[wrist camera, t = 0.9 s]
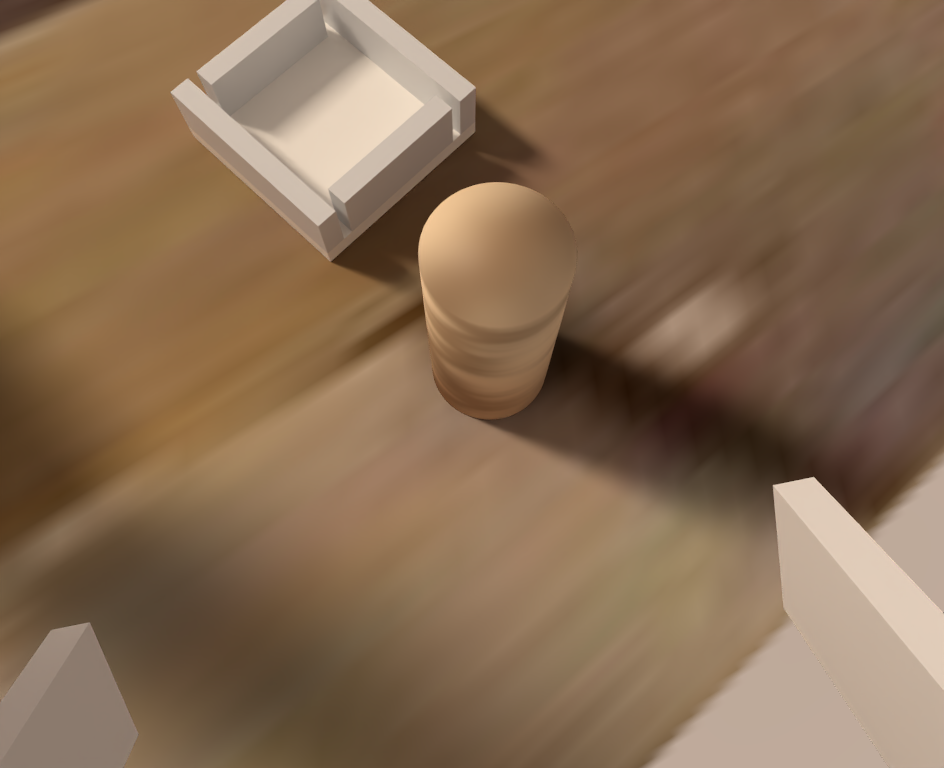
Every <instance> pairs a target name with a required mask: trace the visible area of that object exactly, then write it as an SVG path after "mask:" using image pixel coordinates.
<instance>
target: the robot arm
mask: <svg viewBox="0 0 944 768" xmlns="http://www.w3.org/2000/svg"><path fill="white" fill-rule="evenodd" d="M773 493H774V504H775V515H776V527H777V538H778V549H779V561H780V572H781V583H782V595H783V606H784V609H785V611H786V612H787V614H788V615H789V617H790V619H791V620H792V622H793V623H794V625H795V626H796V628H797V629H798V631H799V632H800V634H801V635H802V637H803V638H804V640H805V641H806V643H807V644H808V646H809V647H810V649H811V650H812V652H813V653H814V655H815V656H816V658H817V659H818V661H819V662H820V664H821V666H822V667H823V669H824V670H825V672H826V673H827V674H828V676H829V678H830V679H831V680H832V682H833V684H834V685H835V687H836V688H837V690H838V691H839V693H840V694H841V696H842V697H843V699H844V700H845V702H846V703H847V705H848V707H849V708H850V709H851V711H852V713H853V714H854V716H855V717H856V718H857V720H858V722H859V723H860V725H861V726H862V728H863V729H864V731H865V732H866V734H867V735H868V737H869V738H870V740H871V741H872V743H873V744H874V746H875V747H876V749H877V750H878V752H879V753H880V755H881V756H882V758H883V760H884V761H885V763H886V764H887V766H888V767H889V768H944V612H942V611H941V610H940V609H939V608H938V607H937V606H936V605H935V604H934V603H933V602H932V601H931V600H930V599H929V597H927V596H926V594H925V593H924V592H923V591H922V590H921V589H920V588H919V587H918V586H917V585H916V584H915V583H914V582H913V581H912V580H911V579H910V578H909V577H908V575H907V574H906V573H905V572H904V571H903V570H902V569H901V568H900V567H899V566H898V565H897V564H896V563H895V562H894V561H893V560H892V559H891V558H890V557H889V555H888V554H887V553H885V551H884V550H883V549H882V548H881V547H880V546H879V545H878V544H877V543H876V542H875V541H874V540H873V539H872V538H871V537H870V536H869V534H868V533H867V532H866V531H865V530H864V529H863V528H862V527H861V526H860V525H859V524H858V523H857V522H856V521H855V520H854V519H853V518H852V517H851V516H850V515H849V514H848V512H847V511H846V510H845V509H844V508H843V507H842V506H841V505H840V504H839V503H838V502H837V501H836V500H835V499H834V498H833V497H832V496H831V495H830V494H829V493H828V491H827V490H826V489H825V488H824V487H823V486H822V485H821V484H820V483H819V482H818V481H817V480H816V479H815V478H814V477H812V478H807V479H802V480H797V481H792V482H787V483H782V484H777V485H773ZM138 735H139V734H138V732H137V730H136V727H135V725H134V723H133V721H132V718H131V716H130V714H129V711H128V709H127V707H126V704H125V702H124V700H123V698H122V695H121V693H120V691H119V688H118V686H117V684H116V681H115V679H114V677H113V675H112V672H111V670H110V668H109V665H108V663H107V661H106V658H105V656H104V654H103V652H102V649H101V647H100V645H99V642H98V640H97V638H96V635H95V633H94V631H93V629H92V626H91V624H90V622H88V623H83V624H78V625H73V626H68V627H63V628H58V629H53V630H51V631H50V632H49V634H48V635H47V636H46V638H45V639H44V641H43V642H42V644H41V645H40V646H39V648H38V649H37V651H36V652H35V654H34V655H33V656H32V658H31V659H30V661H29V662H28V664H27V665H26V666H25V668H24V669H23V671H22V672H21V674H20V675H19V676H18V678H17V679H16V681H15V682H14V684H13V685H12V686H11V688H10V689H9V691H8V692H7V694H6V695H5V696H4V698H3V699H2V701H1V702H0V768H124V765H125V763H126V761H127V759H128V757H129V754H130V752H131V750H132V748H133V746H134V743H135V741H136V739H137V737H138Z"/></svg>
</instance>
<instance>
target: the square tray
mask: <svg viewBox="0 0 944 768" xmlns="http://www.w3.org/2000/svg"><path fill="white" fill-rule="evenodd" d="M197 74H198V76H199V78H200V80H201V82H202V85H203V87H204V89H205V91H206V93H207V95H208V96H207V95H206V94H205V93H203V92H202V91H201V90H200V89H199V88H198V87H197V86H196V85H195V84H193V83H192V82H191V81H190V80H189V79H186V80H185V81H184V82H183V83H181V84H180V85H179V86H178V87H176V88H175V89H174V90H172V91H171V92H170V93H171V94H172V96H173V98H174V100H175V102H176V104H177V106H178V108H179V109H180V111H181V113H182V115H183V117H184V119H185V121H186V123H187V124H188V126H189V128H190V130H191V132H192V134H193V136H194V137H195V138H196V139H197V140H198V141H199V142H200V143H202V144H203V145H204V146H205V147H206V148H207V149H208V150H209V151H210V152H211V153H212V154H214V155H215V156H216V157H217V158H218V159H219V160H220V161H221V162H222V163H223V164H224V165H226V166H227V167H228V168H229V169H230V170H231V171H232V172H233V173H234V174H235V175H237V176H238V177H239V178H240V179H241V180H242V181H243V182H244V183H245V184H246V185H247V186H249V187H250V188H251V189H252V190H253V191H254V192H255V193H256V194H257V195H258V196H259V197H261V198H262V199H263V200H264V201H265V202H266V203H267V204H268V205H269V206H270V207H271V208H273V209H274V210H275V211H276V212H277V213H278V214H279V215H280V216H281V217H282V218H283V219H285V220H286V221H287V222H288V223H289V224H290V225H291V226H292V227H293V228H294V229H295V230H297V231H298V232H299V233H300V234H301V235H302V236H303V237H304V238H305V239H306V240H307V241H309V242H310V243H311V244H312V245H313V246H314V247H315V248H316V249H317V250H318V251H319V252H321V253H322V254H323V255H324V256H325V257H326V258H327V259H328V260H329V261H330V262H331V261H332V260H333V259H334V258H335V257H337V256H338V255H339V254H340V253H341V252H342V251H343V250H344V249H345V248H347V247H348V246H349V245H350V244H351V243H352V242H353V241H354V240H356V239H357V238H358V237H359V236H360V235H361V234H362V233H363V232H364V231H366V230H367V229H368V228H369V227H370V226H371V225H372V224H373V223H374V222H376V221H377V220H378V219H379V218H380V217H381V216H382V215H383V214H384V213H386V212H387V211H388V210H389V209H390V208H391V207H392V206H393V205H394V204H396V203H397V202H398V201H399V200H400V199H401V198H402V197H403V196H404V195H406V194H407V193H408V192H409V191H410V190H411V189H412V188H413V187H414V186H416V185H417V184H418V183H419V182H420V181H421V180H422V179H423V178H424V177H426V176H427V175H428V174H429V173H430V172H431V171H432V170H433V169H435V168H436V167H437V166H438V165H439V164H440V163H441V162H442V161H443V160H445V159H446V158H447V157H448V156H449V155H450V154H451V153H452V152H453V151H455V150H456V149H457V148H458V147H459V146H460V145H461V144H462V143H463V142H465V141H466V140H467V139H468V138H469V137H470V136H471V135H472V134H473V133H475V104H476V87H475V86H473V85H472V84H471V83H470V82H468V81H467V80H466V79H465V78H463V77H462V76H461V75H460V74H458V73H457V72H456V71H455V70H454V69H452V68H451V67H450V66H449V65H447V64H446V63H445V62H444V61H442V60H441V59H440V58H439V57H438V56H436V55H435V54H434V53H433V52H431V51H430V50H429V49H428V48H426V47H425V46H424V45H423V44H422V43H420V42H419V41H418V40H417V39H415V38H414V37H413V36H412V35H410V34H409V33H408V32H407V31H406V30H404V29H403V28H402V27H401V26H399V25H398V24H397V23H396V22H394V21H393V20H392V19H391V18H389V17H388V16H387V15H386V14H385V13H383V12H382V11H381V10H380V9H378V8H377V7H376V6H375V5H373V4H372V3H371V2H370V1H369V0H286V1H285V2H284V3H283V4H281V5H280V6H279V7H277V8H276V9H275V10H274V11H272V12H271V13H270V14H269V15H267V16H266V17H265V18H264V19H262V20H261V21H260V22H258V23H257V24H256V25H255V26H253V27H252V28H251V29H250V30H248V31H247V32H246V33H245V34H243V35H242V36H241V37H240V38H238V39H237V40H236V41H234V42H233V43H232V44H231V45H229V46H228V47H227V48H226V49H224V50H223V51H222V52H221V53H219V54H218V55H217V56H215V57H214V58H213V59H212V60H210V61H209V62H208V63H207V64H205V65H204V66H203V67H202V68H200V69H199V70H198V71H197Z"/></svg>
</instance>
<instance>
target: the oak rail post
mask: <svg viewBox="0 0 944 768" xmlns="http://www.w3.org/2000/svg"><path fill="white" fill-rule="evenodd" d="M418 258H419V268H420V276H421V284H422V292H423V300H424V308H425V316H426V323H427V331H428V339H429V347H430V355H431V363H432V371H433V376H434V380H435V383H436V386H437V388H438V390H439V392H440V393H441V395H442V396H443V397H444V399H445V400H446V401H447V402H448V403H449V404H450V405H451V406H452V407H454V408H455V409H456V410H458V411H460V412H461V413H463V414H466V415H468V416H471V417H474V418H478V419H487V420H493V419H501V418H506V417H509V416H512V415H514V414H516V413H518V412H520V411H521V410H523V409H524V408H526V407H527V406H528V405H529V404H530V403H531V402H532V401H533V400H534V399H535V398H536V397H537V395H538V393H539V392H540V390H541V388H542V386H543V383H544V380H545V377H546V373H547V370H548V366H549V363H550V359H551V356H552V352H553V349H554V345H555V341H556V338H557V334H558V331H559V327H560V324H561V320H562V317H563V313H564V310H565V306H566V303H567V299H568V296H569V292H570V289H571V285H572V282H573V278H574V275H575V271H576V266H577V244H576V239H575V236H574V232H573V230H572V228H571V226H570V224H569V222H568V220H567V219H566V217H565V216H564V214H563V213H562V212H561V211H560V209H559V208H558V207H557V206H556V205H555V204H554V203H552V202H551V201H550V200H549V199H547V198H546V197H545V196H543V195H541V194H540V193H538V192H536V191H534V190H532V189H529V188H527V187H524V186H520V185H517V184H511V183H503V182H491V183H482V184H477V185H473V186H470V187H467V188H465V189H462V190H460V191H458V192H456V193H454V194H453V195H451V196H450V197H448V198H447V199H446V200H444V201H443V202H442V203H441V204H440V205H439V206H438V207H437V208H436V209H435V210H434V211H433V213H432V214H431V215H430V217H429V218H428V220H427V222H426V224H425V225H424V228H423V231H422V233H421V236H420V241H419V249H418Z"/></svg>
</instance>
